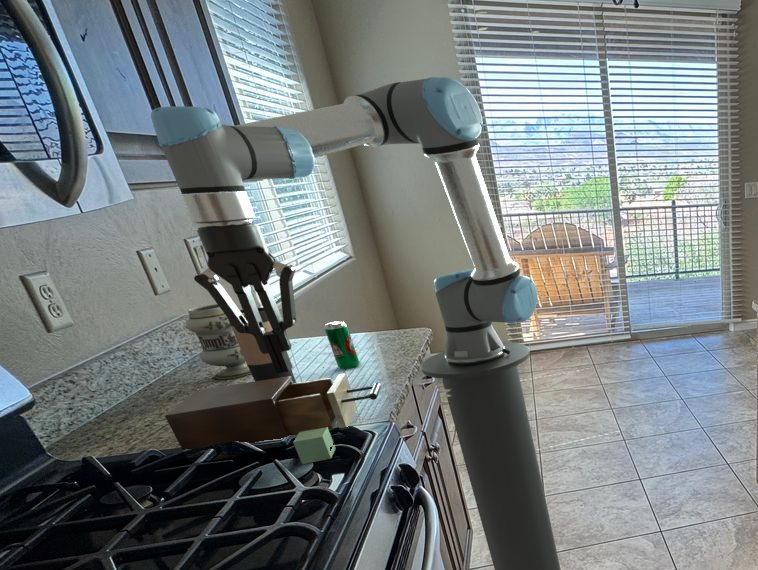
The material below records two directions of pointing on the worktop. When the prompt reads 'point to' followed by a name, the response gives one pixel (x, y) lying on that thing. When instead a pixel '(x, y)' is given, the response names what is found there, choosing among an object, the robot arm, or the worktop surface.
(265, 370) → the travel mug
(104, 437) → the worktop surface
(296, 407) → the drawer
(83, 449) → the worktop surface
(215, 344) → the apothecary jar
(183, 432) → the cabinet
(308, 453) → the block
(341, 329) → the soda can
